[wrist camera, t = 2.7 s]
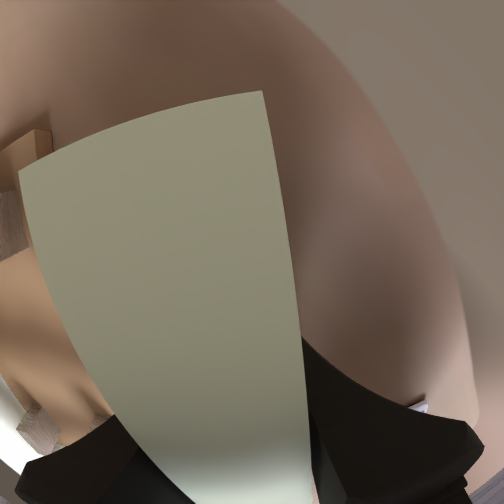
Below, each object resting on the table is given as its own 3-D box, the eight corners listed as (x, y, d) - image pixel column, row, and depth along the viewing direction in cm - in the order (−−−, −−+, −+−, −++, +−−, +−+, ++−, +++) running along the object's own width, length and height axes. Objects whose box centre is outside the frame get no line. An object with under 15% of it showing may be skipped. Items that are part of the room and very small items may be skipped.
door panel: (290, 423, 13) (313, 530, 6) (237, 432, 13) (242, 539, 6) (242, 149, 9) (261, 90, 2) (158, 167, 9) (18, 171, 2)
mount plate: (170, 445, 13) (168, 459, 12) (58, 432, 13) (53, 442, 12) (50, 131, 8) (34, 129, 7) (-48, 200, 8) (-61, 204, 7)
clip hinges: (131, 441, 12) (122, 474, 9) (50, 428, 11) (38, 453, 9) (16, 189, 7) (-26, 199, 5) (-47, 230, 7) (-77, 243, 5)
